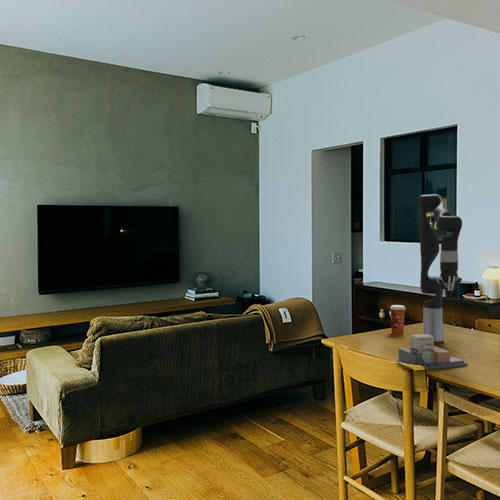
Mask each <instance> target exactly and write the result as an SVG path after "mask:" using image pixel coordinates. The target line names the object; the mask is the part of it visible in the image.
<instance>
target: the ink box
mask: <svg viewBox="0 0 500 500" xmlns="http://www.w3.org/2000/svg"><path fill="white" fill-rule="evenodd" d="M434 343H435V342H434V336H431V335H429V334H423V333H420V334H411V335H410V348H409V350H411V351H414V352H416V353H419V354H422V364H428V363H433V350H434Z"/></svg>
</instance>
